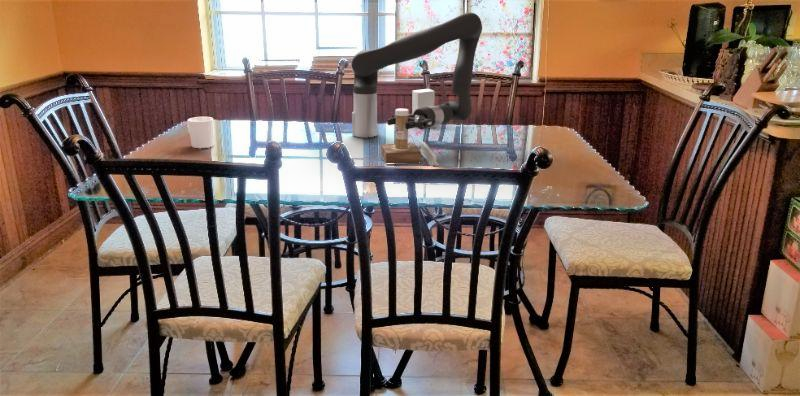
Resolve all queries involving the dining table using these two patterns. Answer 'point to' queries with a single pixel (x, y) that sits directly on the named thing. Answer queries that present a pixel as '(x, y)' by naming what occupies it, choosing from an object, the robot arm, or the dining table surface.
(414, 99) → the skincare box
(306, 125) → the dining table surface
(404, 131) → the sprinkles bottle
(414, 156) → the walnut block
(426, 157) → the divider
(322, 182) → the dining table surface
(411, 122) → the robot arm
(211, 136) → the mug
